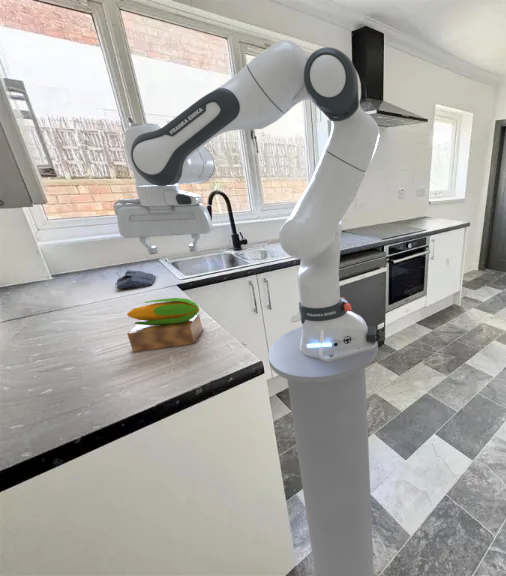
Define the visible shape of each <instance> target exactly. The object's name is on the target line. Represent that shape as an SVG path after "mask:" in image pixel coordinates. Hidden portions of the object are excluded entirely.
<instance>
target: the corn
mask: <svg viewBox="0 0 506 576" xmlns="http://www.w3.org/2000/svg"><path fill="white" fill-rule="evenodd" d="M144 303H145V304H146V305H142V306H139V307H134V308H132V309H131V310H130V311H129V312H127V313H126V315H127V317H129V318H130V319H131V318H132V319H134V320H138V321H136V322H134V325H137V324H140V325H166V324H176V323H184V322H186V321H188V320H190V319H192V318H194V317H195V316H196V315H197V314H198V313H199V312H200V308H199V305H198V304H197V303H196V302H195V301H193V300H191V299H189V298H181V297H170V298H158V299H152V300H147V301H144ZM148 303H151V304H148ZM141 320H143V322H140V321H141Z"/></svg>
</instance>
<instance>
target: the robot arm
mask: <svg viewBox="0 0 506 576" xmlns="http://www.w3.org/2000/svg"><path fill="white" fill-rule="evenodd" d="M362 96H363V93H362V83H361V79H360V75H359V73H358V71H357V70H356V67H355V65H354V63H353V62H352V60H351V59H350V58H349V57H348V55H347V54H346V53H344V52H343V51H342V50H339V49H338V48H335V47H331V46H325V47H321V48H319V49H316V50H315V51H313V52H312V53H311V54H310V56H308V54H307V53H306V52H305V51H304V50H303V48H301V46H300V45H298V44H297V42H295V41H293V40H290V39H281V40H279V41H277V42H275V43H274V44H272V45H270V46H269V47H267V48H266V49H264V50H263V51H262V52H260V53H259V54H257V55H256V56H255V57H254V58H252V59H251V60H250V61H249V62H247V64H246V65H244V67H242V69H240V71H238V72H237V73H236V74H234V75H233V76H232V77H231V78H230V79H228V80H227V81H226V82H224V83H222V85H220V86H218V87H217V88H215V89H214V90H212V91H210V92H209V93H207V94H205V95H203V96H202V97H201V98H200V99H198V100H197V101H195V102H193V104H191V105H190V106H189V107H187V108H186V109H185V110H184V111H182V112H181V113H179V114H178V115H176V116H175V117H174V118H173V119H172V120H171V121H169V122H168V123H167V124H165V125H164V126H161V125H157V124H154V123H139V124H133V125H130V126H128V127H126V129H125V130H124V147H125V152H126V157H127V160H128V164H129V167H130V170H132V172H133V175H134V186H135V190H136V195H137V197H138V198H128V199H126V198H120V199H118V200H116V201H115V202H114V203H113V205H112V208H113V211H114V214H115V216H116V218H117V227H118V231H119V234H120V236H122V237H123V238H125V239H134V238H135V239H136V238H138V239H139V240H138V241H139V242H140V243H141V244H142V246H144V247H145V248H146V249H147V252H148V255H157V254H158V248H157V245H152V244H151V243H150V241H149V240H150V238H152V237H153V238H154V237H168V236H169V237H170V236H172V237H173V236H186V235H188V236H189V235H190V236H191V239H193V241H192V243H190V244H189V245H188V248H189V251H190V252H198V251H199V248H198V243H199V241H200V238H201V236H200V235H205V234H206V235H207V234H210V233H211V232H212V231H213V230H214V226H213V221H212V217H211V215H210V212H209V210H208V208H207V207H206V206H205V205H204V204H202V203H203V202H204V200H203V199H204V198H203V196H202V195H200V194H197V193H193V192H189V191H185V190H181V189H180V185H188V184H200V183H204V182H207V181H209V180H210V179H211V178H212V176H213V174H214V172H215V161H214V158H213V156H212V153H211V152H210V151H209V150H208V148H206V147H205V145H206V144H208V143H209V142H210V141H212V140H213V139H214V138H216V137H217V136H219V135H221V134H224V133H227V132H232V131H239V130H262V129H264V128H267V127H269V126H270V125H272V124H274V123H275V122H277V121H279V120H280V119H281V118H282V117H284V116H285V115H286V114H287V113H288V112H289V111H291V110H292V108H294V107H295V106H296V105H298V104H300V103H301V102H303V101H311V102H312V103H313V104H314V105H315V106H316V108H318V109H319V110H320V111H321V112H322V113H323V114H324V115H325V117H327V119H328V120H330V123H331V130H330V133H329V136H328V140H327V141H326V144H325V146H324V149H323V150H322V153H321V156H320V158H319V160H318V164H317V166H316V167H315V170H314V173H313V175H312V177H311V179H310V181H309V183H308V184H307V186H306V188H305V190H304V191H303V193H302V195H301V197H299V199H298V201H297V202H296V204H295V206H294V208H293V210H292V212H291V214H290V215H289V216H288V218H287V219H286V221H285V222H284V223H283V224H282V225H281V227H280V230H279V233H278V241H279V245H280V247H281V248H282V250H283V252H284V253H286V254H287V255H288V256H289V257H291V258H293V259H296V260H300V264H299V269H298V272H297V285H298V286H297V287H298V293H299V294H298V295H299V302H298V314H299V319H300V322H301V327H302V337H301V344H300V351H301V352H302V353H303V354H304V355H306V356H309V357H313V358H318V359H320V360H322V361H324V362H330V361H334V360H337V359H341V358H345V357H348V356H352V355H355V354H359V353H362V352H366V351H370V350H373V349H375V348H376V345H377V341H379V340H380V338H381V335H380V334H379V333H378V332H377V326H368V325H367V323H366V321H365V319H364V318H363V317H362V316H361V315H360V314H357V313H356V312H354V311H352V305H351V303H349V302H348V300H347V299H346V298H345V297H344V296H342V297H341V290H340V287H341V286H340V261H341V260H340V259H341V245H342V233H343V222H342V219H343V217H344V216H345V214H346V213H347V211H348V209H349V208H350V206H351V205H352V204H353V202H354V200H355V198H356V196H357V194H358V191H359V189H360V188H361V185H362V183H363V181H364V179H365V176H366V174H367V172H368V169H369V168H370V166H371V163H372V161H373V158H374V155H375V153H376V149H377V146H378V142H379V140H380V139H379V138H380V127H379V125H378V123H377V121H376V120H375V119H374V118H373V117H372V116H371V114H369V113H367V112H366V111H364V110H363V108H362V107H361V103H362Z"/></svg>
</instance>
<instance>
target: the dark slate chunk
mask: <svg viewBox="0 0 506 576" xmlns="http://www.w3.org/2000/svg"><path fill="white" fill-rule="evenodd" d="M153 274H154V273H149V272H145V271H141V270H130V269H129V270H126V272H125V274H124V275H123V276H122V277H119V278H117V279H116V282H117V283H116V285H117V287H118V288H120V289H132V288H133V289H134V288H140V287H149V286H152V285H153V284H154V282H155V280H156V276H155V274H154V276H153Z"/></svg>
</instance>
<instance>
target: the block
mask: <svg viewBox="0 0 506 576" xmlns="http://www.w3.org/2000/svg"><path fill="white" fill-rule="evenodd" d="M139 322H143V320H139ZM202 331H203V326H202V321H201V316H200V313H199V312H198V314H197V315H196V316H195V317H194V318H192V319H190V320H188V321H186V322H184V323H176V324H166V325H140V324H135V325H134V327H132V328H131V330H129V331H128V333H126V335H127V337H128V340H129V344H130V347H131V349H132V353H136V352H143V351H150V350H157V349H164V348H165V349H166V348H172V347H179V346H186V345H193V344H195V343H196V342H197V340H198V338H199V336H200V335H201V333H202Z"/></svg>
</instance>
